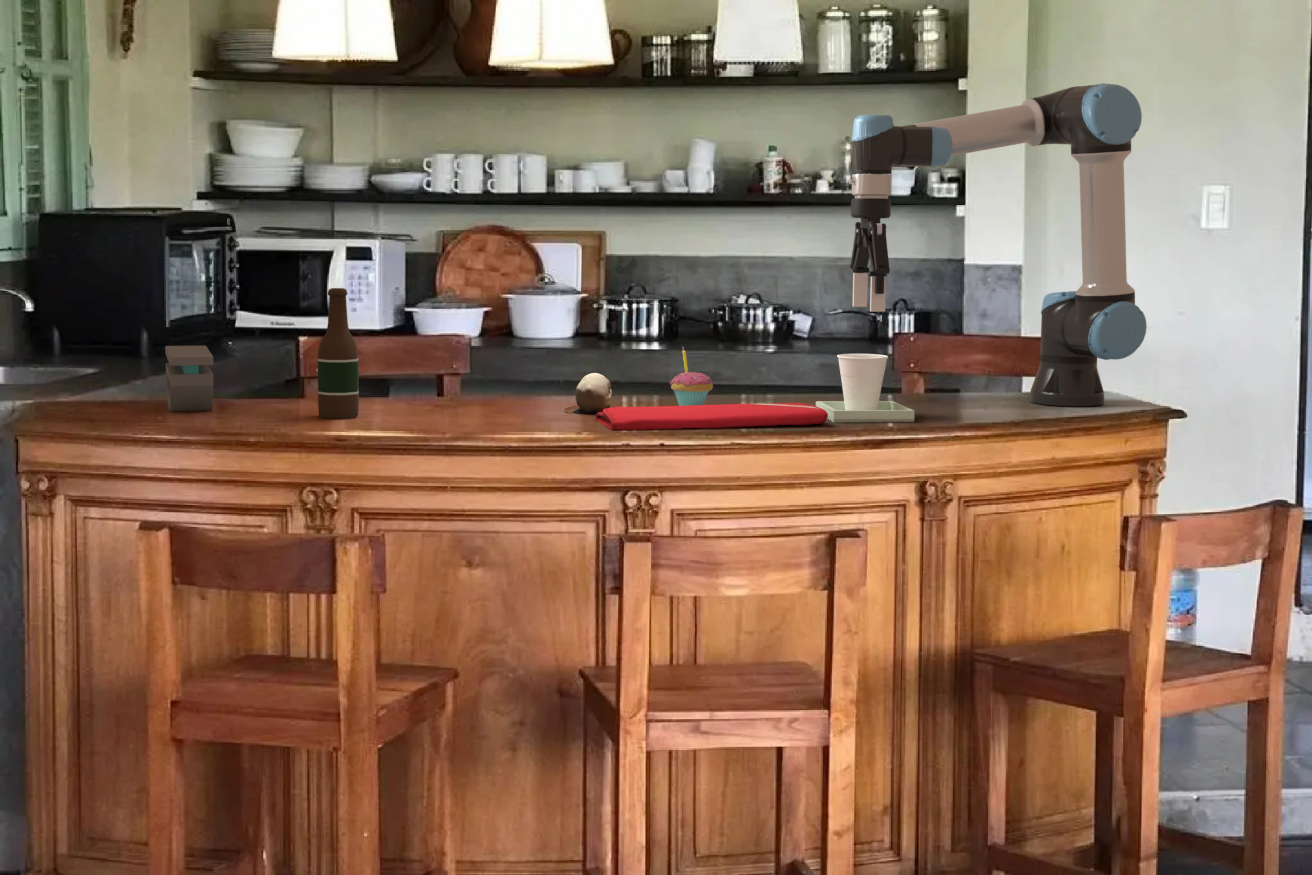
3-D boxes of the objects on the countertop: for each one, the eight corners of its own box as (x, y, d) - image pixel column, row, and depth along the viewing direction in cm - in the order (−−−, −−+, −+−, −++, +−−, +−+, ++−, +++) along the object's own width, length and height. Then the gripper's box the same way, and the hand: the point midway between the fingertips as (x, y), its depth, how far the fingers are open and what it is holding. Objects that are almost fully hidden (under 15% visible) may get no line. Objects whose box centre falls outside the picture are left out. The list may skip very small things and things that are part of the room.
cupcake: (663, 408, 369) (664, 347, 368) (679, 404, 377) (680, 344, 376) (704, 410, 366) (705, 349, 365) (719, 406, 374) (720, 346, 372)
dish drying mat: (594, 422, 350) (594, 402, 349) (803, 419, 359) (803, 400, 359) (611, 433, 335) (611, 412, 334) (828, 429, 344) (829, 409, 343)
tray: (892, 412, 368) (893, 401, 367) (914, 422, 352) (914, 410, 352) (815, 412, 366) (815, 401, 365) (833, 422, 350) (833, 410, 350)
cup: (884, 416, 356) (886, 358, 355) (833, 414, 358) (834, 357, 357) (888, 410, 366) (890, 354, 364) (838, 408, 368) (839, 352, 366)
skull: (571, 401, 370) (605, 365, 367) (607, 438, 368) (641, 401, 366) (550, 406, 359) (585, 368, 356) (587, 444, 357) (622, 406, 354)
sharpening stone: (214, 414, 350) (213, 356, 348) (171, 415, 348) (170, 357, 346) (206, 399, 374) (205, 345, 372) (166, 400, 371) (165, 346, 370)
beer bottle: (367, 415, 351) (366, 288, 348) (347, 420, 344) (346, 290, 341) (330, 413, 354) (329, 286, 350) (309, 418, 346) (308, 288, 343)
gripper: (836, 196, 366) (834, 304, 369) (868, 197, 341) (865, 313, 344) (873, 197, 367) (871, 304, 370) (908, 198, 342) (905, 313, 345)
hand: (868, 309), depth 357 cm, fingers open, 13 cm apart
